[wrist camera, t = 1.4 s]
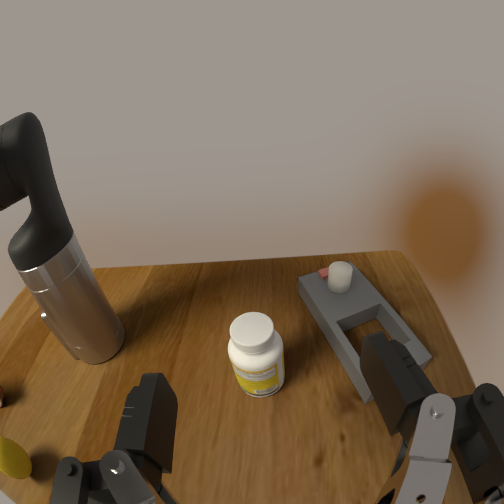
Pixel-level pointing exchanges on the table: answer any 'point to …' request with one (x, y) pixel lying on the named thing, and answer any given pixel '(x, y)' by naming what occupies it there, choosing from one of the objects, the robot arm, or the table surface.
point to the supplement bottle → (256, 354)
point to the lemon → (14, 459)
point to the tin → (1, 396)
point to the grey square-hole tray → (353, 316)
